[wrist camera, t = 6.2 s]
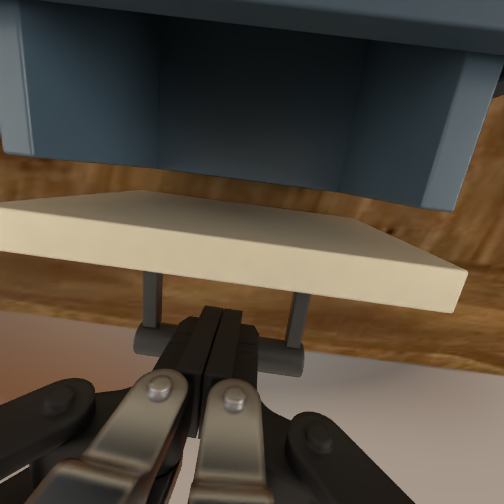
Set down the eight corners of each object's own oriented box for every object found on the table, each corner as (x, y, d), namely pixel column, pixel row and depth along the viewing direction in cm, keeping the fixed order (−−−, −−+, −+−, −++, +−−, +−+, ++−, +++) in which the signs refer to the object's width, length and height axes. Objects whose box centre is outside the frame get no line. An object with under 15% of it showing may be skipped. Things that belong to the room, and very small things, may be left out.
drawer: (330, 317, 16) (396, 463, 8) (139, 290, 17) (8, 404, 8) (426, -92, 11) (948, -973, 3) (140, -123, 11) (-239, -1022, 3)
